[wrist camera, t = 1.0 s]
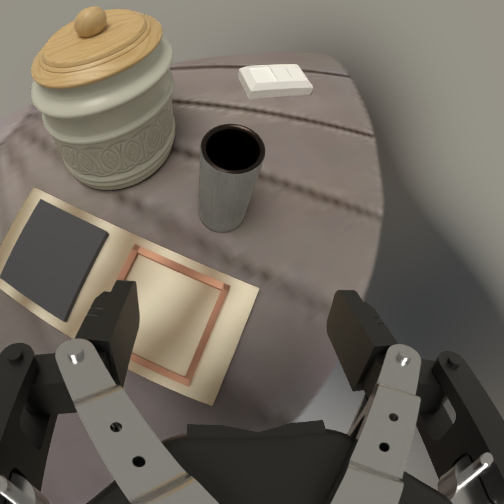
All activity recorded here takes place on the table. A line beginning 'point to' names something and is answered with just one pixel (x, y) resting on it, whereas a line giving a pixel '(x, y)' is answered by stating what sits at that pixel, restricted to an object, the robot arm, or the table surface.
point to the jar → (107, 96)
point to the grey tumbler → (228, 175)
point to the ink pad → (53, 258)
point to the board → (156, 305)
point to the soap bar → (274, 81)
